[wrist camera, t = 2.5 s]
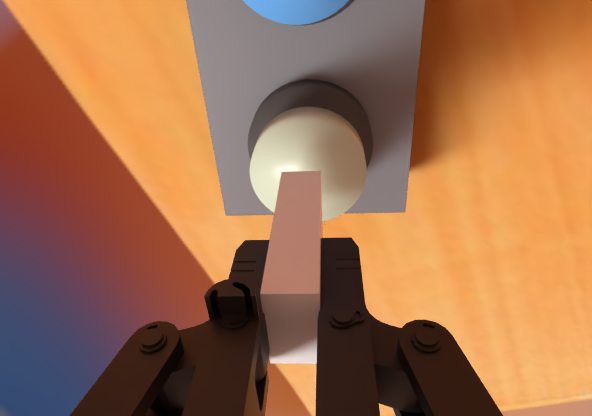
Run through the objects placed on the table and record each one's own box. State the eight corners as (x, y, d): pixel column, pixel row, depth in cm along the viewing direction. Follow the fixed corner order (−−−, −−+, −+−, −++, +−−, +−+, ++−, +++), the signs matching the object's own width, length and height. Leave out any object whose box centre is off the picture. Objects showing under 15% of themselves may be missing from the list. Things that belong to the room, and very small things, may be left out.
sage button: (365, 104, 18) (368, 117, 17) (362, 204, 21) (365, 222, 19) (248, 109, 18) (242, 122, 17) (260, 206, 21) (256, 223, 20)
